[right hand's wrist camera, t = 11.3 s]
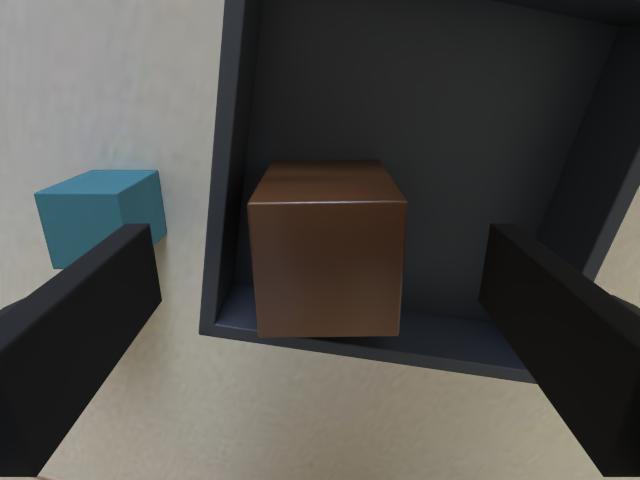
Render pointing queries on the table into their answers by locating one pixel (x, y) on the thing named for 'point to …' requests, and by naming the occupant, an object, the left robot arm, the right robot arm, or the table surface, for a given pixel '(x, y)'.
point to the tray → (430, 147)
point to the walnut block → (327, 249)
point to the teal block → (97, 210)
